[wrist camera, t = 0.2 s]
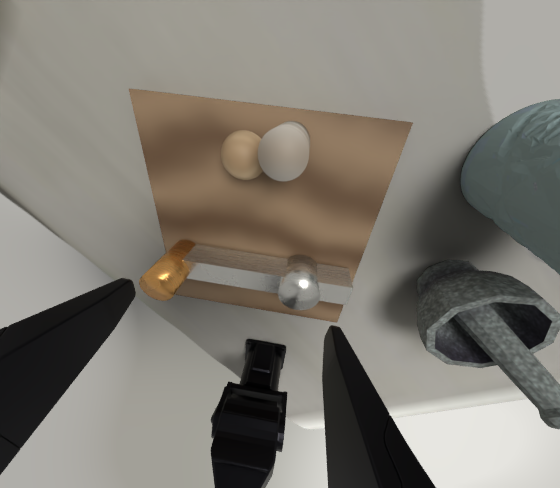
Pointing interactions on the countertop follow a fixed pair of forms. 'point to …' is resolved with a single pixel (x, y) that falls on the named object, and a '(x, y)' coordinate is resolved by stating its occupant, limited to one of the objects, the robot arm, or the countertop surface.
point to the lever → (248, 274)
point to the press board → (267, 184)
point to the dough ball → (241, 155)
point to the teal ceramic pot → (520, 178)
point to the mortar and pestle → (490, 327)
